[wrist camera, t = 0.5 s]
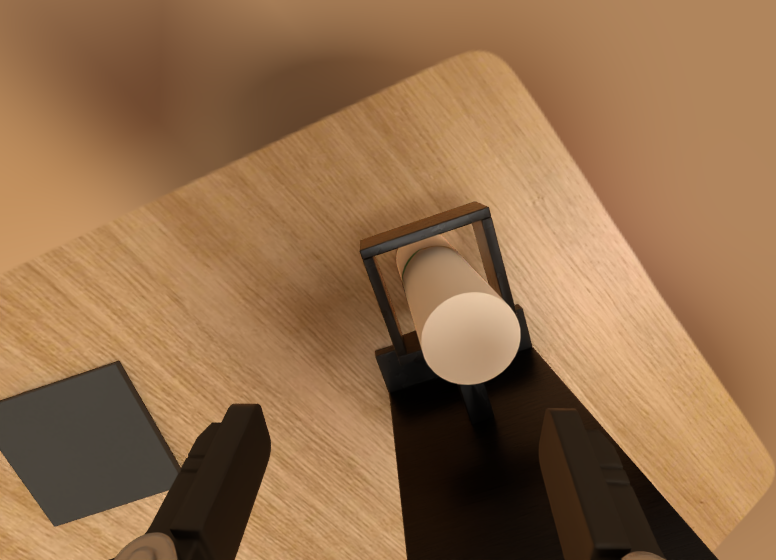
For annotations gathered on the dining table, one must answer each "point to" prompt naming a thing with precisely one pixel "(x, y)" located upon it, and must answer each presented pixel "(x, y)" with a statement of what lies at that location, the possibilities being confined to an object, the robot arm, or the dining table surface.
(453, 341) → the tube
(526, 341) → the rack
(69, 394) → the mat
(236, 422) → the robot arm
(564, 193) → the dining table surface
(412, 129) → the dining table surface
